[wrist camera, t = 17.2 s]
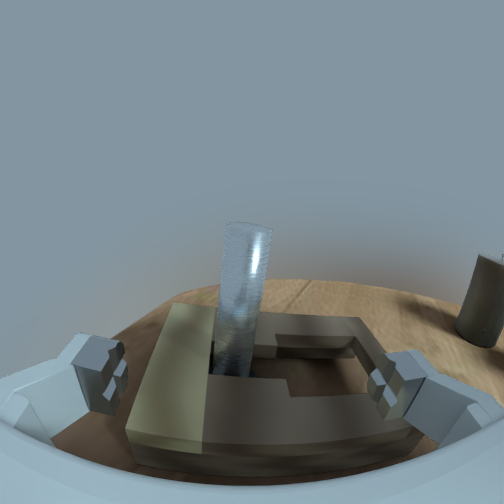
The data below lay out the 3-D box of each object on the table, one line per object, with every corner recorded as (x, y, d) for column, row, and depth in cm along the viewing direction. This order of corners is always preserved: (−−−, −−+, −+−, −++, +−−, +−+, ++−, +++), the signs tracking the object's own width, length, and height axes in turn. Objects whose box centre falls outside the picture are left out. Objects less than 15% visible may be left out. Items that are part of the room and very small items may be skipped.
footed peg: (258, 376, 26) (286, 223, 22) (264, 422, 20) (305, 243, 16) (196, 371, 25) (207, 214, 21) (190, 417, 19) (198, 231, 15)
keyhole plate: (348, 348, 32) (359, 317, 31) (409, 453, 16) (435, 419, 14) (172, 337, 30) (173, 302, 29) (136, 463, 14) (124, 428, 12)
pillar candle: (491, 354, 30) (526, 265, 26) (447, 331, 37) (476, 245, 33) (497, 336, 35) (525, 261, 31) (460, 318, 43) (483, 244, 39)
